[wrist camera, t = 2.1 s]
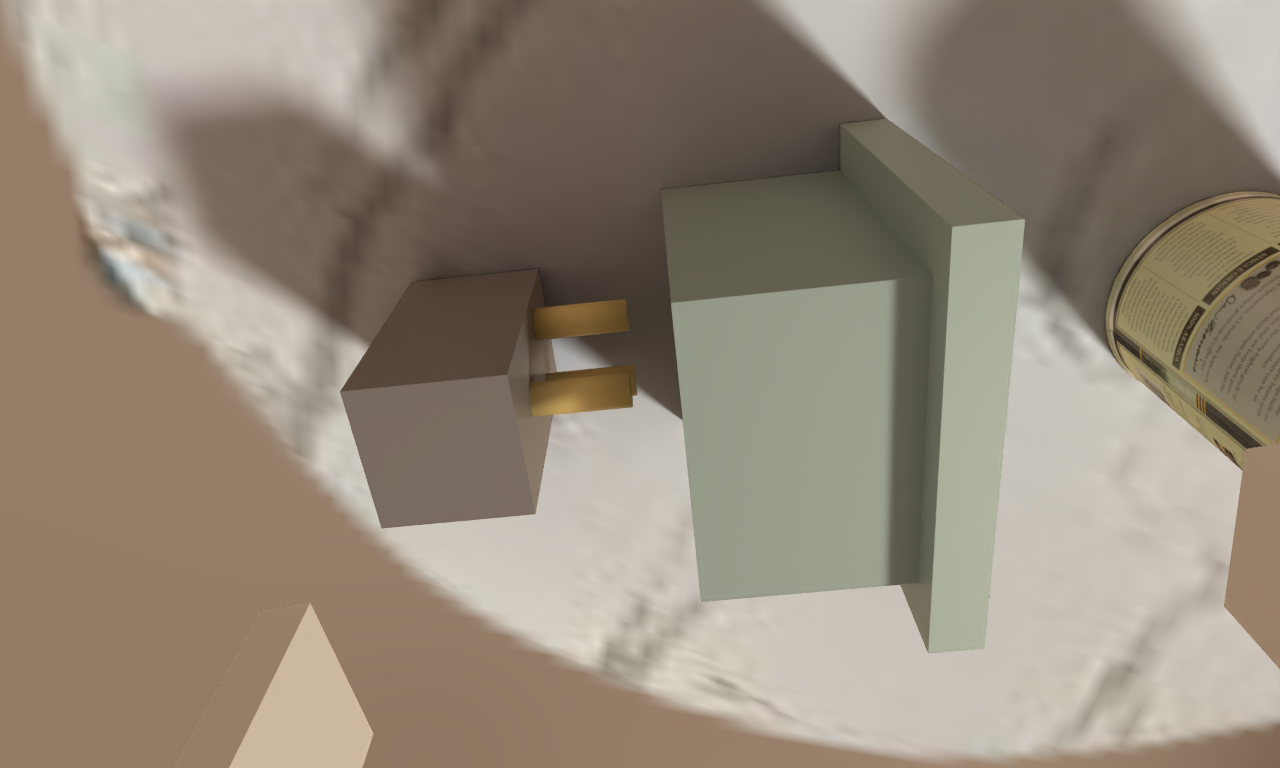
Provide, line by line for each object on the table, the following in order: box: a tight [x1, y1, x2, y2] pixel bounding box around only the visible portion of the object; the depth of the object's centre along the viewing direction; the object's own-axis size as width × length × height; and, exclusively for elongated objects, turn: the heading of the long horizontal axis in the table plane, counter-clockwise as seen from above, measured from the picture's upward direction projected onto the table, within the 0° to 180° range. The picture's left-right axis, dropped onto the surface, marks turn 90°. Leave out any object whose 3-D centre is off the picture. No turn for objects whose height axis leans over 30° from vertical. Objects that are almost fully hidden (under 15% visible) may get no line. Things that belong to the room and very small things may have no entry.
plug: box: [340, 268, 637, 528], centre depth 37 cm, size 10×6×11 cm, turn 96°
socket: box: [661, 119, 1025, 653], centre depth 35 cm, size 10×16×15 cm, turn 6°
